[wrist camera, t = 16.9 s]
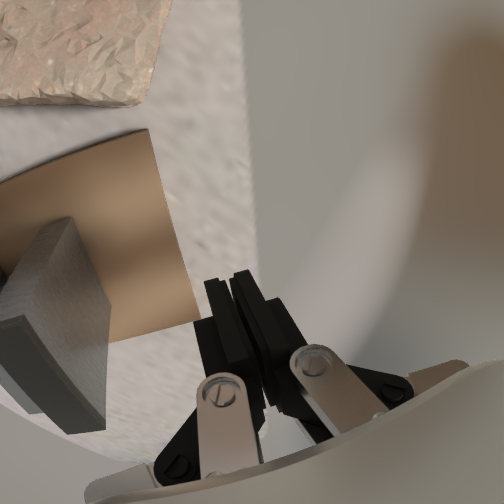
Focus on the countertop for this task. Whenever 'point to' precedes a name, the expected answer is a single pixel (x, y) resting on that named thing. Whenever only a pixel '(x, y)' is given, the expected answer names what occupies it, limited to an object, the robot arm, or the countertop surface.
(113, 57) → the brick
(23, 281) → the free jaw
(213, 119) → the countertop surface
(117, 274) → the vise base
